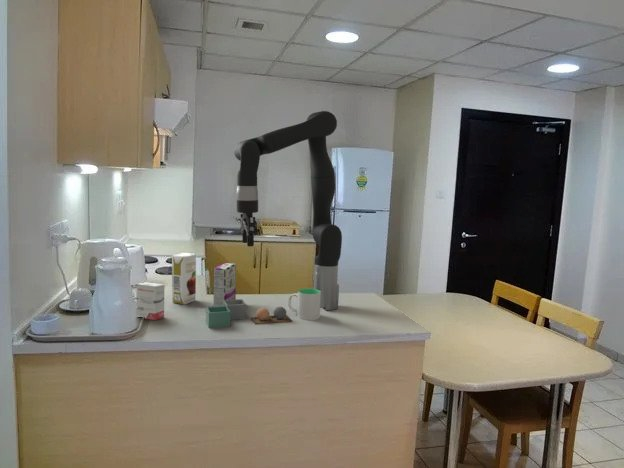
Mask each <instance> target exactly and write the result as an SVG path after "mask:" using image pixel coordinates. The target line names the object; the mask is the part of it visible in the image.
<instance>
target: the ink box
mask: <svg viewBox="0 0 624 468" xmlns="http://www.w3.org/2000/svg"><path fill="white" fill-rule="evenodd" d="M165 286H166V285H165V284H162V283H153V282H148V281H145V282H140V283H137V284H136V298H135V299H136V306H137V314H138V315H139V316H143V317H145V319H144V320H153V321H157V320H160V319H162V318H164V317H165Z"/></svg>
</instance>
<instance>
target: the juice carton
mask: <svg viewBox="0 0 624 468" xmlns="http://www.w3.org/2000/svg"><path fill="white" fill-rule="evenodd" d="M196 280H197V258H196V253H192V252H191V253H190V252H181V253H179V254H178V253H177V254H172V255H171V302H172V303H174V304H179V305H187V304H190V303H192V302H193V303H194V302H195V301H196V298H197V297H196V294H197V290H196V289H197V286H196V284H197V283H196V282H197V281H196Z"/></svg>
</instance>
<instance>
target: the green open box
mask: <svg viewBox="0 0 624 468" xmlns="http://www.w3.org/2000/svg"><path fill="white" fill-rule="evenodd" d="M205 323H206V325H207V328H208V329H212V328H214V329H215V328H226V327H231V319H230V310H229V309H228V307H227V306H216V307H214V306H206V307H205Z"/></svg>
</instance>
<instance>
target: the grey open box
mask: <svg viewBox="0 0 624 468" xmlns="http://www.w3.org/2000/svg"><path fill="white" fill-rule="evenodd" d="M223 306H227V307H228V309H229V310H230V320H239V319H241V320H243V319H247V303H246V302H245V300H244V299H243V298H240V299H238V298H237V299H236V300H223Z"/></svg>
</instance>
